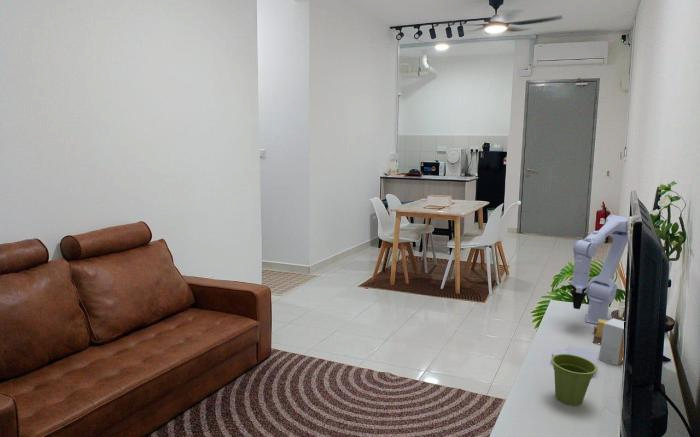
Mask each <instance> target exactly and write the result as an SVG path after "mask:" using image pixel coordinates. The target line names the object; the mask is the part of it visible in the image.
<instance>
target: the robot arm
mask: <svg viewBox="0 0 700 437" xmlns="http://www.w3.org/2000/svg"><path fill="white" fill-rule="evenodd" d="M628 218H629V217H628V216H627V217H626V216H620V215H615V214H611V213H610V214H609V215H608V216H607V217H606V219H605V222H604V225H602V226H601V227H600V229H599V230H593V231H592V232H590V234H588V235H587V236H586V237H585V238H583V239H580V240H577V241H575V243H574V245H573V247H572V252H573V259H574V265H573V270H572V271H573V273H572V277H571V278H572V279H571V280H568V284H570V285H571V287H572V288H571V289H570V293H571V296H572V308H573V309H574V310H580V309H581V307H582V304H583V301H584V299H585V298H586V296H587V298H588V299H589V301H588V309H587V313H586V314H585V322H586V323H589V324H594V325H597V324H598V319H603V320H608V313H609V306H610V304H611V303H612V302H613V301H614V300H615V299H616V296H617V290H618V286H617V284H616V282H615V281H614V277H615V274H616V272H617V269H618V267H619V264H620V261H621V259H622V257H623V254H624V252H625V249H626V246H627V244H628V242H629V241H628ZM607 237H611V238H612V239H613V240H612V241H611V242H612V243H611V245H610V247H609V250H608V252H607V254H606V257H605V260H604V263H603V265H602V266H601V269H600V272H599V274H598V275H595V276H594V277H593V276H592V277H591V279H590V276H591V275H590V273H591V267H592V266H591V265H592V260H593V259H592V258H594V257H595V255H596V254H597V253H596V252H598V249H599V248H600V247H601V246H602V245H603V244H605V243H606V238H607ZM589 280H590V281H589Z"/></svg>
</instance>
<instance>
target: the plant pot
mask: <svg viewBox="0 0 700 437" xmlns="http://www.w3.org/2000/svg"><path fill="white" fill-rule="evenodd" d="M551 359H552V362H553V365H552V366H553V370H554V396H555V398H556V399H557V401H558V402H560V403H562V404H564V405H571V406H575V407H577V406H580V405H582V404H583V402H584V399H585V397H586V395H587V394H586V393H587V391H588V388H589V385H590V382H591V380H592V378H593V376H594V374H595V373H596V372H597V371H598V366H597V364H596V365H595V364H594V363H593V362H591V361H589V360H587V359H585V358H583V357H580V356H576V355H571V354H557V355H554V356H553V357H552V356H551Z"/></svg>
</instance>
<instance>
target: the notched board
mask: <svg viewBox="0 0 700 437" xmlns="http://www.w3.org/2000/svg"><path fill="white" fill-rule="evenodd" d="M596 331H597V326H594V328H593V333H594V335H593V342H594V343H593V342H592V343H593V344H597V343H600V344H599V345H601V341H602V335H597V334H596Z"/></svg>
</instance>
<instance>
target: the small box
mask: <svg viewBox="0 0 700 437" xmlns="http://www.w3.org/2000/svg"><path fill="white" fill-rule="evenodd" d="M624 322H625V321H624V320H621V319H617V318H615V317H613V318H611V319H609V320H608V321H607V322H606V323H604V327H603V334H602V341H601V344H600V348H599V352H598V353H599V354H598V360H600V361H602V362H606V363H608V364H611V365H615V366H617V365H618V366H619V365H620V364H621V363H623V362H622V358H623V333H624Z"/></svg>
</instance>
